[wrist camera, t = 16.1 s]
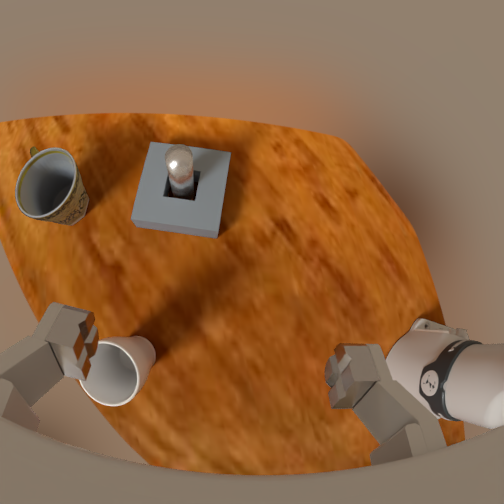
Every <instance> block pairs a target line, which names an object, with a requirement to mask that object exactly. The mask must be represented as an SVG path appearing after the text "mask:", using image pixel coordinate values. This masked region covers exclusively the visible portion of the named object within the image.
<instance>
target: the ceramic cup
mask: <svg viewBox="0 0 504 504" xmlns="http://www.w3.org/2000/svg"><path fill="white" fill-rule="evenodd" d="M30 154H31V157H32V158H31V159H30V160H29V161H28V162H27V163H26V165H25V166H24V167H23V169H22V171H21V173H20V175H19V177H18V180H17V183H16V189H15V197H16V202H17V205H18V207H19V209H20V210H21V212H22V213H23V214H25V215H26V216H28V217H30V218H33V219H37V220H41V221H50V222H55V223H59V224H64V225H71V226H72V225H74V224H75V223H77V222H78V221H79V220H81V219H82V218H83V217H84V216H85V214H86V210H87V206H88V202H89V197H88V195H87V193H86V190H85V188H84V186H83V183H82V179H81V175H80V172H79V170H78V167H77V165H76V163H75V160H74V158H73V157H72V155H71V154H70V153H69V152H68V151H66V150H64V149H61V148H48V149H45V150H43V151H41V152H39V151H38V150H37V149H36V147H32V148H31V149H30Z"/></svg>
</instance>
